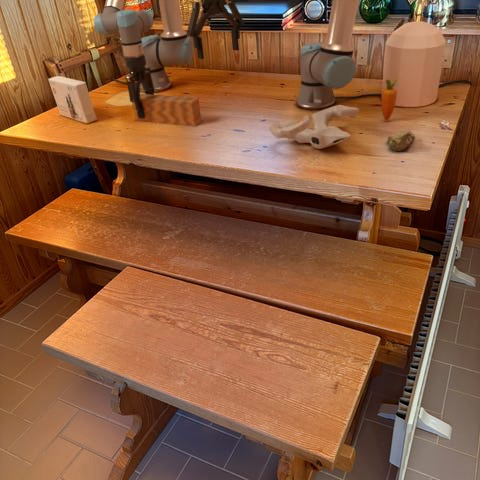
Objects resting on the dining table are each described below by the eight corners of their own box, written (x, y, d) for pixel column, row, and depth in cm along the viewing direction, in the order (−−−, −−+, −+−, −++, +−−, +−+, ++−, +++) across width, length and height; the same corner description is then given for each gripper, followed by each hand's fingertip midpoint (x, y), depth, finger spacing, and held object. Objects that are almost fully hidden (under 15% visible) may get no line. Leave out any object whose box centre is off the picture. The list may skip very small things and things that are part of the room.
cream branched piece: (267, 156, 148) (265, 121, 142) (278, 128, 170) (277, 96, 163) (357, 157, 142) (360, 119, 136) (357, 127, 164) (359, 94, 157)
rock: (408, 140, 153) (379, 139, 152) (414, 122, 149) (384, 120, 148) (421, 154, 144) (391, 153, 143) (428, 135, 140) (396, 133, 139)
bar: (135, 120, 189) (130, 98, 183) (143, 115, 193) (138, 93, 187) (194, 126, 178) (191, 102, 173) (201, 121, 182) (198, 97, 177)
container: (406, 111, 172) (416, 29, 156) (369, 96, 188) (375, 22, 172) (449, 99, 178) (463, 20, 162) (410, 86, 194) (419, 13, 178)
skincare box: (58, 115, 201) (47, 78, 192) (69, 111, 204) (58, 75, 195) (86, 124, 189) (75, 85, 180) (97, 119, 192) (87, 81, 183)
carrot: (394, 118, 167) (398, 76, 158) (393, 123, 163) (397, 80, 154) (379, 117, 168) (383, 75, 160) (378, 122, 165) (382, 80, 156)
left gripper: (127, 62, 167) (140, 124, 180) (156, 49, 181) (166, 107, 194) (110, 62, 169) (124, 122, 183) (141, 49, 183) (152, 106, 197)
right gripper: (180, -13, 132) (191, 64, 144) (251, -25, 142) (256, 48, 154) (168, -15, 137) (180, 60, 149) (238, -26, 147) (243, 45, 159)
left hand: (146, 114), depth 188 cm, fingers open, 6 cm apart
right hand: (218, 54), depth 152 cm, fingers open, 13 cm apart
